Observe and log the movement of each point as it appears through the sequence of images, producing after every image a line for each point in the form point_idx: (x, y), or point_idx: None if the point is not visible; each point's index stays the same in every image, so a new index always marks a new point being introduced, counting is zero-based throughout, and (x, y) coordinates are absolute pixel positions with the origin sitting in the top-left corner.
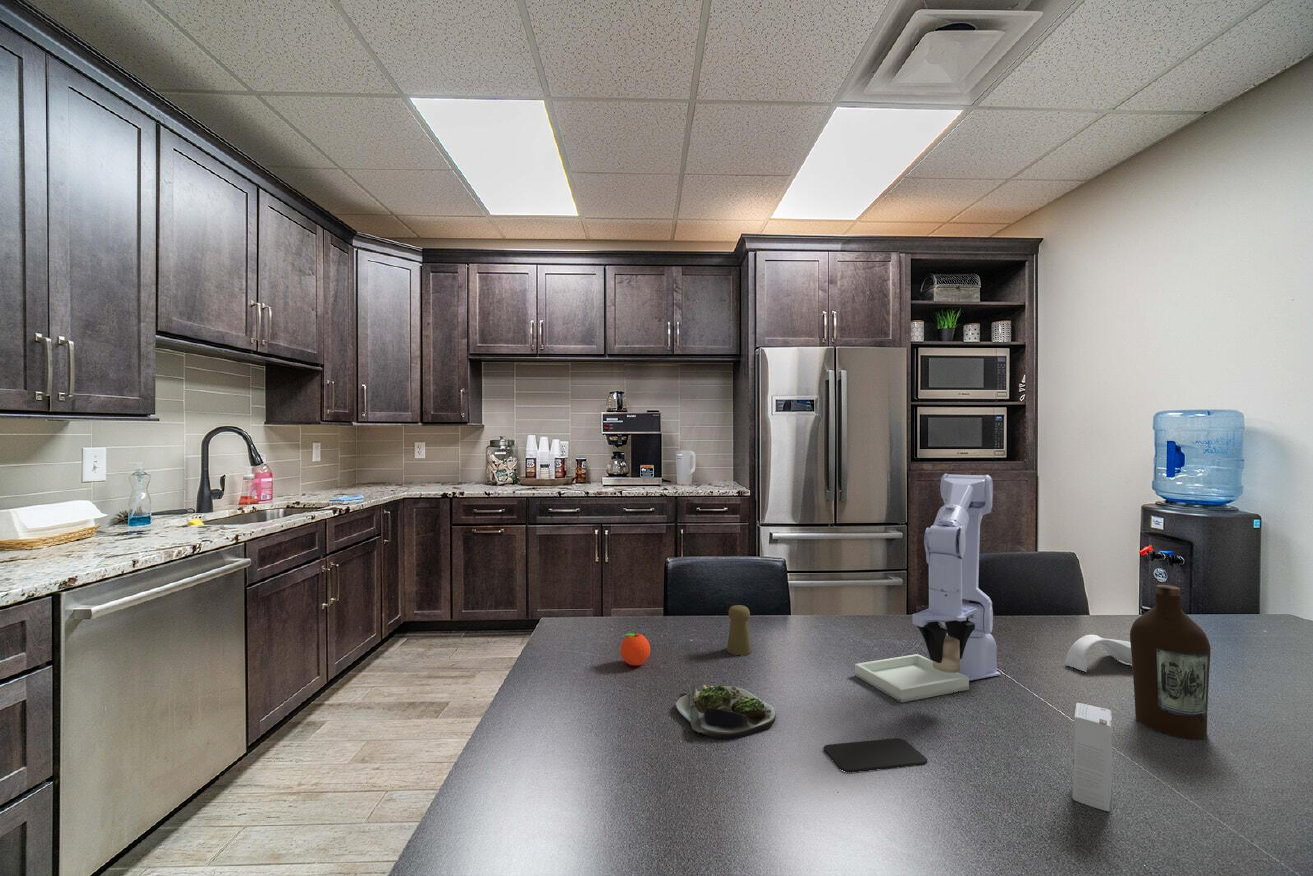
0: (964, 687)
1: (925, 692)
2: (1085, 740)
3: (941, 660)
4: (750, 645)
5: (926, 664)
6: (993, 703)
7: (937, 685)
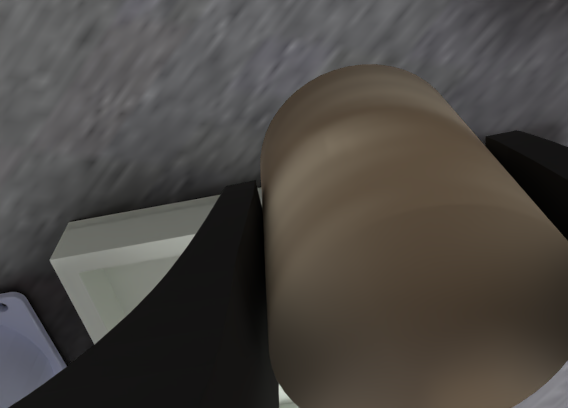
0: (94, 224)
1: None
2: None
3: (501, 140)
4: None
5: None
6: (21, 75)
7: None
